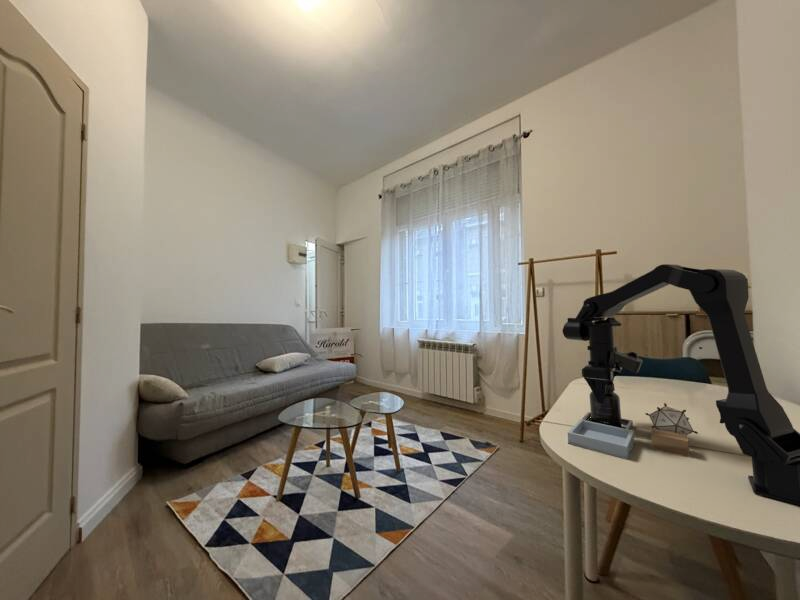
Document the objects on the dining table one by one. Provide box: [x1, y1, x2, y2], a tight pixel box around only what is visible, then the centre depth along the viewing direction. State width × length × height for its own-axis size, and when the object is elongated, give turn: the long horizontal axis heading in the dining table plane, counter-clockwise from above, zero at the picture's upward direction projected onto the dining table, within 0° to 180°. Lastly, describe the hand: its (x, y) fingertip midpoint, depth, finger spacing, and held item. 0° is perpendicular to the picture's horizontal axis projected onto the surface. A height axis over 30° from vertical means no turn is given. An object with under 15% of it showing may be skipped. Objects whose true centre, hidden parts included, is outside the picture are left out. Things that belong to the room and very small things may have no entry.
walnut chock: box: [651, 428, 690, 458], centre depth 65 cm, size 4×6×4 cm, turn 47°
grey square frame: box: [580, 411, 634, 430], centre depth 79 cm, size 10×10×2 cm
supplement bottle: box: [589, 382, 623, 428], centre depth 79 cm, size 7×7×12 cm
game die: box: [645, 402, 699, 436], centre depth 71 cm, size 9×8×10 cm
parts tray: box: [567, 419, 636, 460], centre depth 70 cm, size 11×11×3 cm
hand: (604, 399), depth 79 cm, fingers open, 9 cm apart
